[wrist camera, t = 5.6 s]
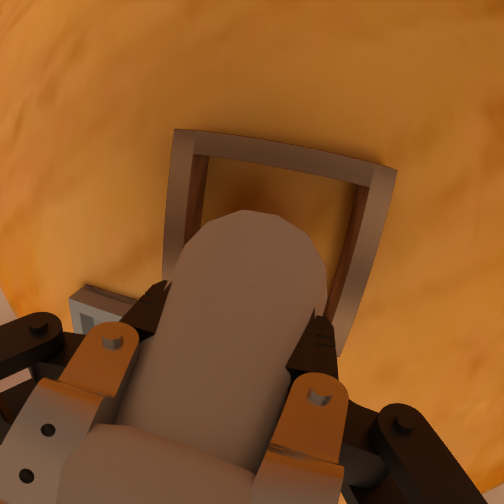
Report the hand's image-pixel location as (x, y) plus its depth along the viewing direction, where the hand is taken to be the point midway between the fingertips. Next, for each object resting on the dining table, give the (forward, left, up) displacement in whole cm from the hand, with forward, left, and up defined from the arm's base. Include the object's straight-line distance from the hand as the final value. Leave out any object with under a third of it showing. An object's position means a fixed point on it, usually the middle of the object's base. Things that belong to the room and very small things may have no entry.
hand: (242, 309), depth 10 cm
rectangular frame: (0, 0, -9) cm, 9 cm away
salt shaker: (0, 0, -4) cm, 4 cm away
